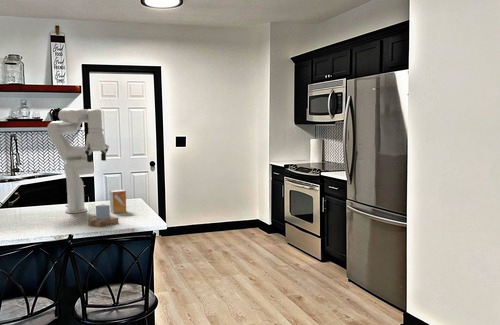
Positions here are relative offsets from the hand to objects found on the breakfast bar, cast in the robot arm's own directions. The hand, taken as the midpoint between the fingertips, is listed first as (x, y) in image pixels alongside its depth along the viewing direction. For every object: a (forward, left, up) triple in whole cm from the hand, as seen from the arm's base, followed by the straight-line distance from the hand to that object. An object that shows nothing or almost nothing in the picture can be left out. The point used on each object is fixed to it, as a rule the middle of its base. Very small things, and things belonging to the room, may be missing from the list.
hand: (96, 161), depth 264 cm
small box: (-2, +16, -32) cm, 36 cm away
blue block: (+17, -11, -29) cm, 36 cm away
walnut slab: (+17, -11, -32) cm, 38 cm away
